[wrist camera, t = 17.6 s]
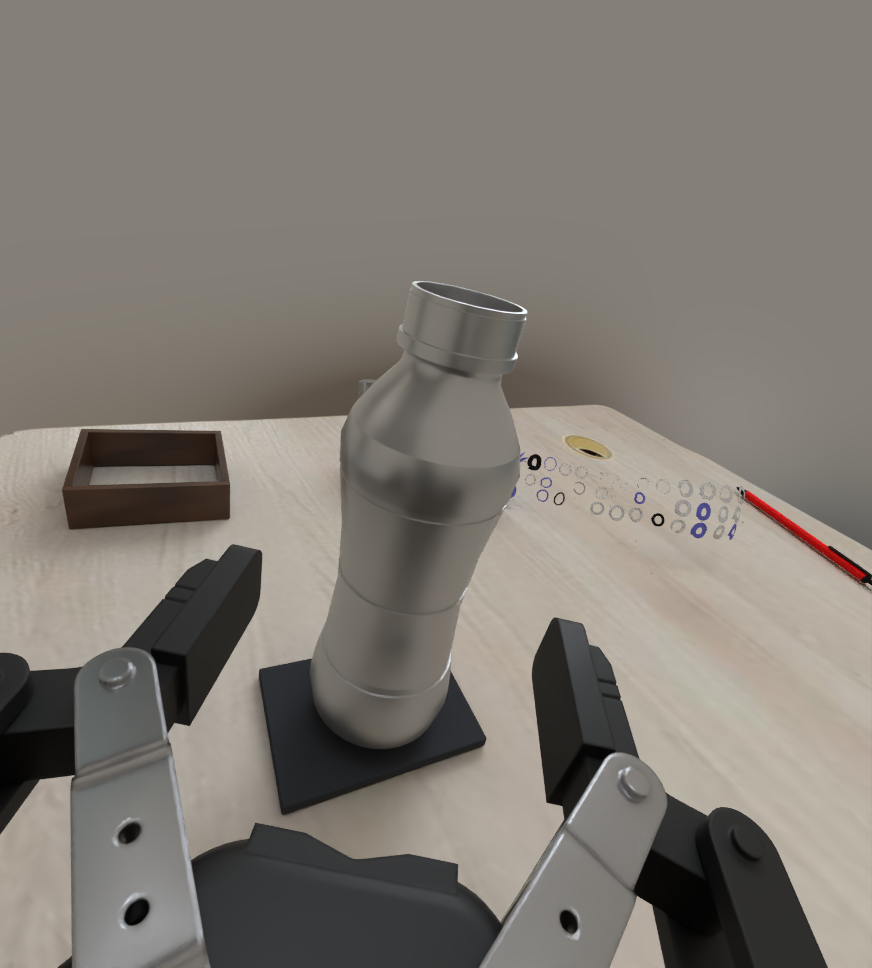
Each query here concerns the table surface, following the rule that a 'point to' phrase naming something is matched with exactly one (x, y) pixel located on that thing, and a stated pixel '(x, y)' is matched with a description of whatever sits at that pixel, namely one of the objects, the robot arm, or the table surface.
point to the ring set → (699, 509)
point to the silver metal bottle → (417, 513)
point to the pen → (812, 540)
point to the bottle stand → (145, 499)
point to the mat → (336, 762)
